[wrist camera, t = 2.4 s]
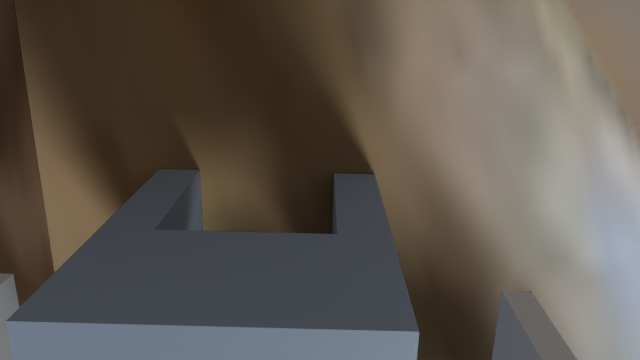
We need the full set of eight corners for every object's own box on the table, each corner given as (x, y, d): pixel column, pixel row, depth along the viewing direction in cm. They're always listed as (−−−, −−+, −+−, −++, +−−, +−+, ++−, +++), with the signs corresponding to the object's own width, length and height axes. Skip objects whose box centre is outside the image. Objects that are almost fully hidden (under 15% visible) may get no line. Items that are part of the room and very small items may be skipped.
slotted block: (367, 293, 21) (400, 524, 12) (168, 287, 21) (42, 515, 12) (374, 174, 20) (419, 331, 10) (159, 168, 20) (5, 321, 10)
